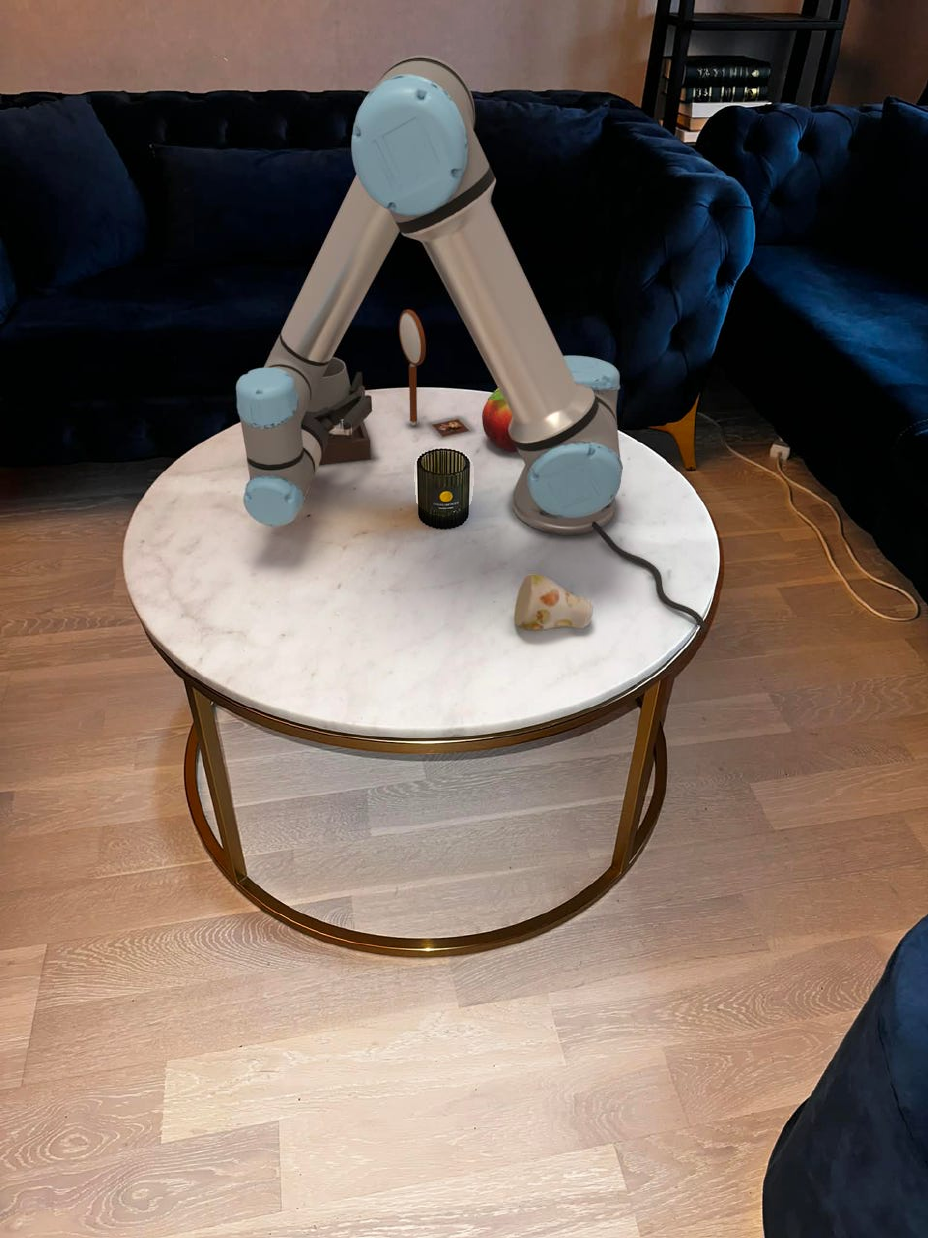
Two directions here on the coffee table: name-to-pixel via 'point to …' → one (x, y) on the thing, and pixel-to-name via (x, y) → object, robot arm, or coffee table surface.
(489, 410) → the fruit
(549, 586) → the beige spotted lump
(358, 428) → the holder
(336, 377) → the cup
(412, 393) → the magnifying glass
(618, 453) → the robot arm
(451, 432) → the picture card
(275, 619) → the coffee table surface
